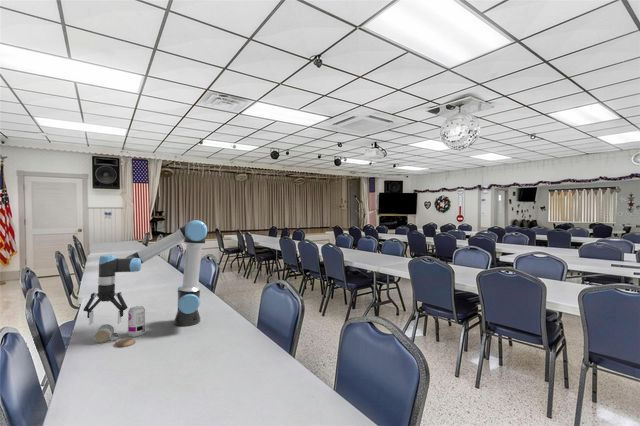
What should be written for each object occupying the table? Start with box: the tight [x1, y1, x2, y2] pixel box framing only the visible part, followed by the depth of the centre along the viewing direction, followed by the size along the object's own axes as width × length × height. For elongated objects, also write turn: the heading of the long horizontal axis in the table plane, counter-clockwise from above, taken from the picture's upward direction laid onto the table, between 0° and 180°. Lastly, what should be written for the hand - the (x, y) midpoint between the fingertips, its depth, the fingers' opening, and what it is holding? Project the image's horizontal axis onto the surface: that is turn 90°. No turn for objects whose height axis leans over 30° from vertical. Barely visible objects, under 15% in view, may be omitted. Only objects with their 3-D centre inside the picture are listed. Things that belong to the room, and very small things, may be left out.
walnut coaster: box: [115, 338, 137, 348], centre depth 165 cm, size 9×9×1 cm
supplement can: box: [127, 305, 146, 338], centre depth 178 cm, size 8×8×15 cm
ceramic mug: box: [94, 323, 120, 344], centre depth 170 cm, size 11×8×8 cm
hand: (105, 323), depth 170 cm, fingers open, 13 cm apart
